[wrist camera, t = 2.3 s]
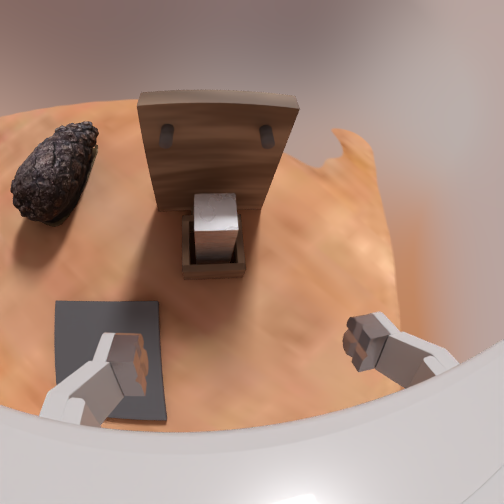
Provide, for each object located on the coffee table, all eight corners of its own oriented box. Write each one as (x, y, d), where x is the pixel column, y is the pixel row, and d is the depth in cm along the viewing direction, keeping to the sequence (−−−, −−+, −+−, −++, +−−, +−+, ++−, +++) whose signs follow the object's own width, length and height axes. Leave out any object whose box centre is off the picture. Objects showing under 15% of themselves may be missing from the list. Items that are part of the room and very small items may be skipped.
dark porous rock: (110, 140, 39) (97, 95, 30) (73, 236, 32) (41, 198, 23) (62, 141, 38) (44, 101, 29) (22, 230, 31) (-11, 196, 22)
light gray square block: (228, 265, 35) (238, 229, 25) (196, 267, 34) (194, 231, 25) (226, 236, 36) (235, 193, 27) (195, 237, 35) (194, 193, 26)
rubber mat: (62, 409, 24) (59, 410, 23) (58, 302, 29) (55, 300, 28) (167, 418, 26) (166, 420, 26) (158, 302, 31) (157, 301, 31)
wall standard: (269, 275, 35) (327, 197, 18) (156, 280, 32) (115, 200, 16) (259, 197, 39) (295, 95, 23) (159, 198, 36) (140, 92, 20)
